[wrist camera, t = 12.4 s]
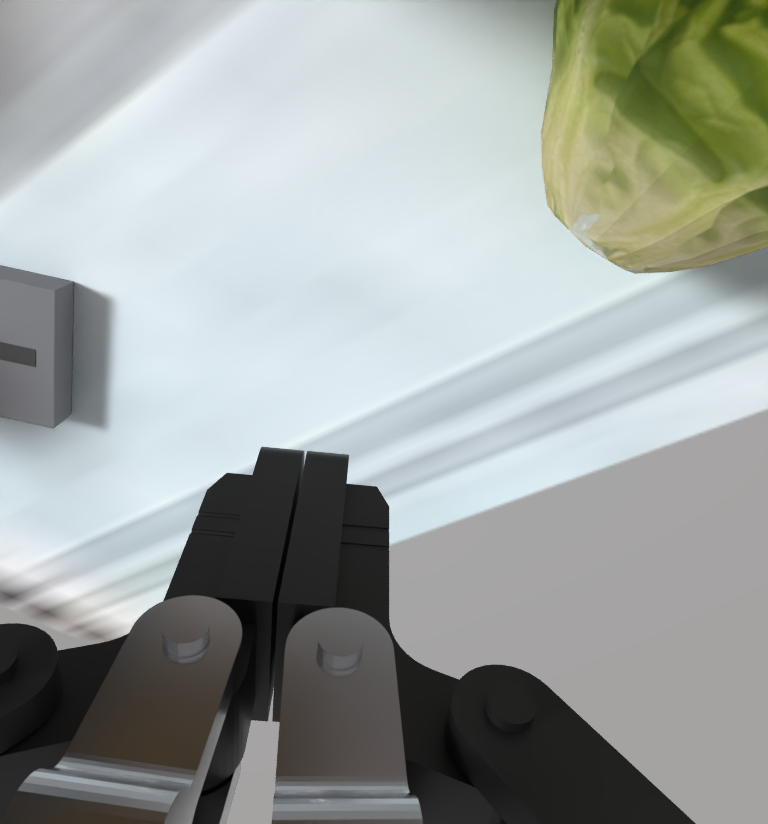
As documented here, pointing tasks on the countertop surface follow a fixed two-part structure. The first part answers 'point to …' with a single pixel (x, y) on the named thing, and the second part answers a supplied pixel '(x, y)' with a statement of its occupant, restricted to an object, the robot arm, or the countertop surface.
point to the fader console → (35, 347)
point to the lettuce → (659, 129)
